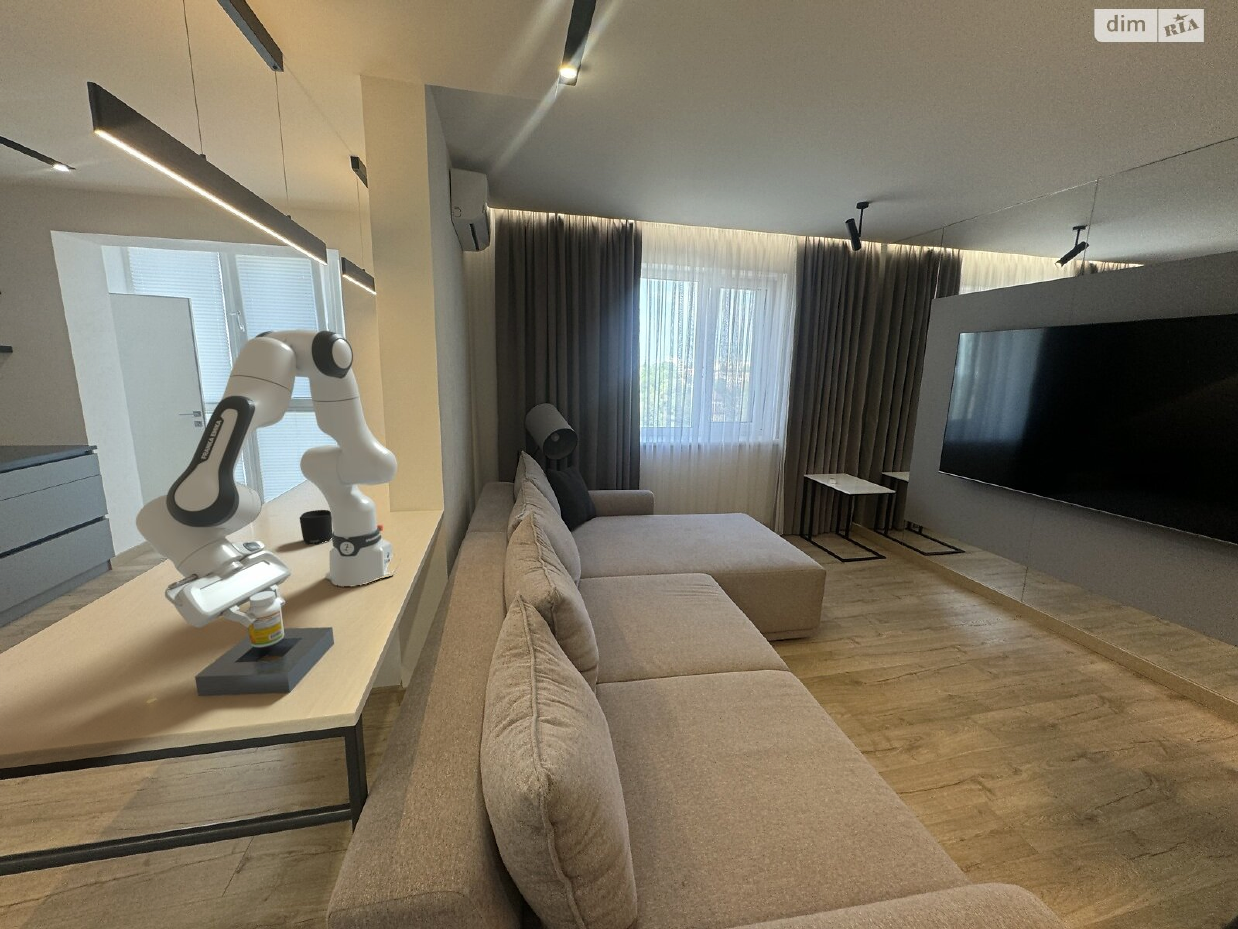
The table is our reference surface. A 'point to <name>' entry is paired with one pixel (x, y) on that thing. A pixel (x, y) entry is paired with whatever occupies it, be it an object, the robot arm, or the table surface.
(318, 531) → the pen holder
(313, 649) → the grey square frame
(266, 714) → the table surface
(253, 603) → the supplement bottle
